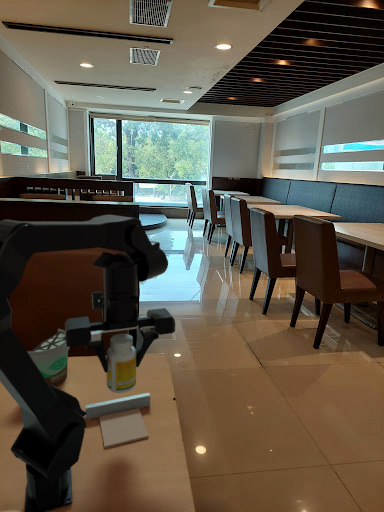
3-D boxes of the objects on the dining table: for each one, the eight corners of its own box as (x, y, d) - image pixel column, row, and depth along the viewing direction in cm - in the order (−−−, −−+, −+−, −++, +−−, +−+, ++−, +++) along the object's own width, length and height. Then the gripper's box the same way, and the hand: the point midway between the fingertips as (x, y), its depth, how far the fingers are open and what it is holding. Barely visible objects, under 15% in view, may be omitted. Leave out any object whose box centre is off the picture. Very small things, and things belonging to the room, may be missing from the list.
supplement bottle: (101, 389, 62) (99, 341, 60) (117, 374, 67) (116, 329, 65) (126, 397, 61) (126, 348, 58) (141, 381, 65) (141, 335, 63)
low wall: (150, 405, 72) (150, 395, 72) (86, 419, 68) (85, 408, 67) (149, 402, 73) (149, 392, 73) (85, 416, 69) (85, 405, 68)
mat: (148, 437, 64) (148, 435, 64) (104, 448, 61) (104, 446, 61) (139, 409, 71) (139, 408, 71) (99, 418, 68) (99, 416, 68)
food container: (50, 399, 73) (47, 357, 71) (26, 393, 75) (22, 352, 72) (83, 368, 85) (81, 331, 82) (61, 364, 86) (59, 327, 84)
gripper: (159, 271, 70) (158, 341, 74) (62, 278, 63) (66, 354, 67) (177, 289, 60) (174, 368, 64) (64, 299, 53) (68, 387, 57)
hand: (121, 368), depth 63 cm, fingers closed on supplement bottle, 5 cm apart
